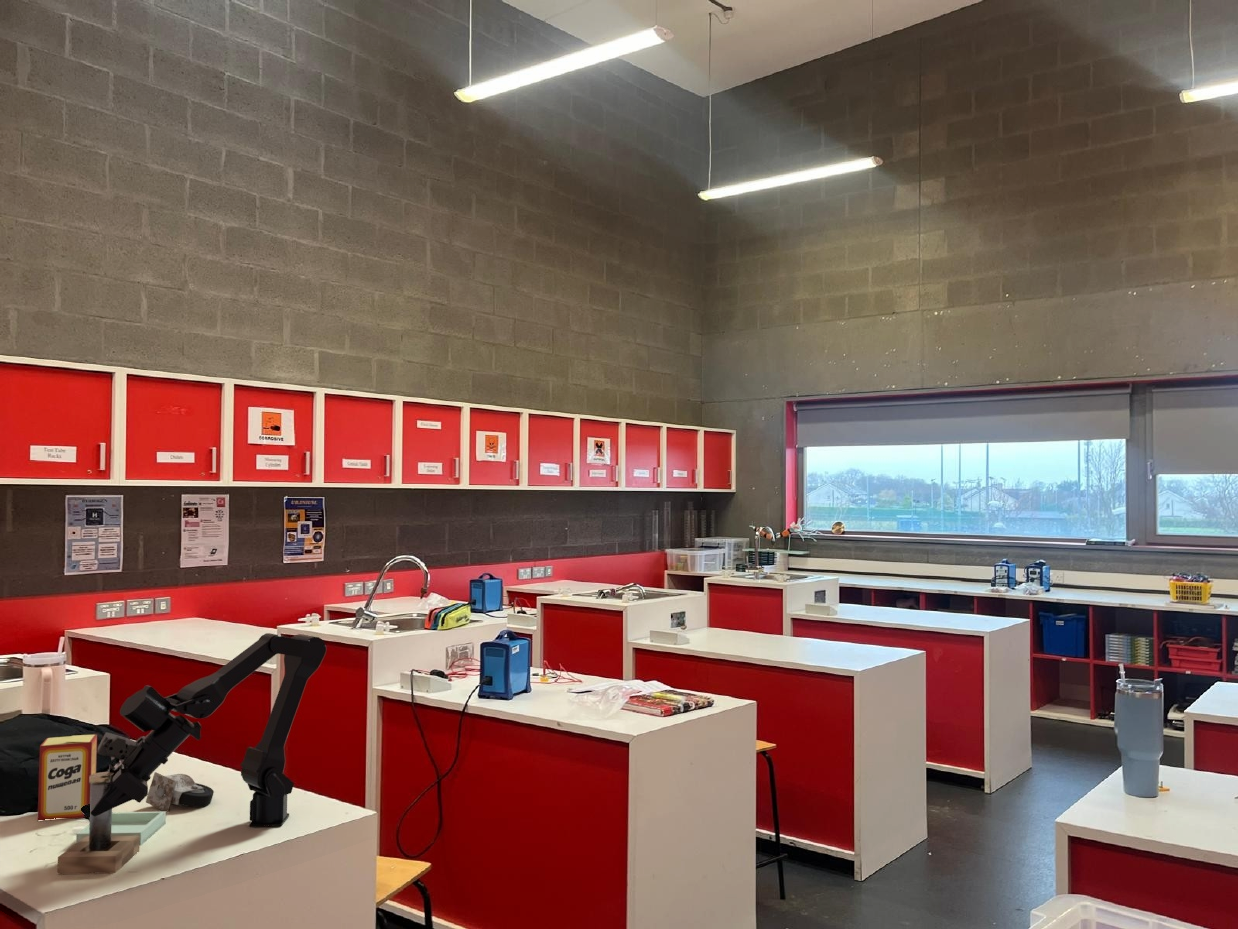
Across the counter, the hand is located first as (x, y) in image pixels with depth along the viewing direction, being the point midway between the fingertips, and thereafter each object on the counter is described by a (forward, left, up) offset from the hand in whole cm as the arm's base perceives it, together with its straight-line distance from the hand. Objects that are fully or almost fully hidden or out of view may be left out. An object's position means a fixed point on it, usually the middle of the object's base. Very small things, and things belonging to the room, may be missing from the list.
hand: (92, 811), depth 171 cm
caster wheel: (-4, -32, -10) cm, 34 cm away
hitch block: (-1, -1, -10) cm, 10 cm away
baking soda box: (+18, -28, -10) cm, 34 cm away
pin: (-1, -1, -7) cm, 7 cm away
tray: (+1, -15, -10) cm, 17 cm away
